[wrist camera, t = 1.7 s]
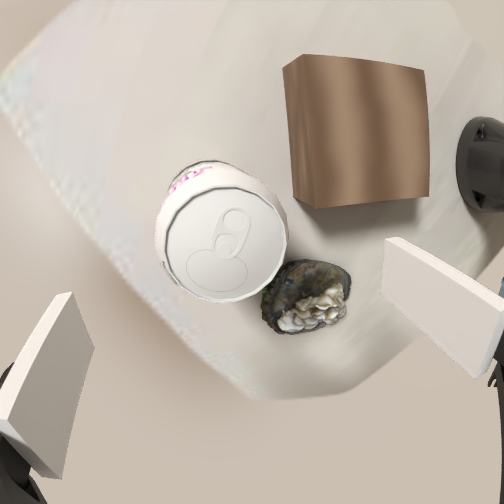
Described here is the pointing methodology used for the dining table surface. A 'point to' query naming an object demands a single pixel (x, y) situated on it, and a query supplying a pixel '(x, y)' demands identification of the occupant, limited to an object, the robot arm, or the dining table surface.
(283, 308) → the oyster shell
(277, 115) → the dining table surface
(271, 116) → the dining table surface
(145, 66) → the dining table surface
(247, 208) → the supplement can
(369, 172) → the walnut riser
